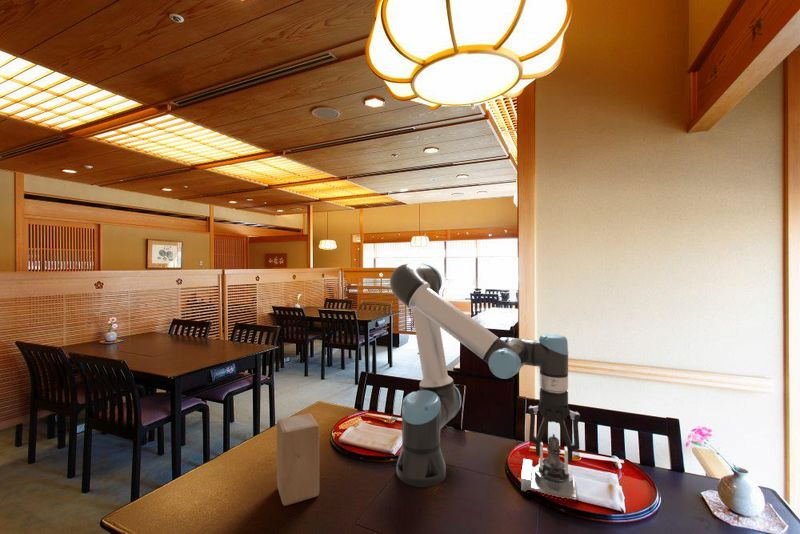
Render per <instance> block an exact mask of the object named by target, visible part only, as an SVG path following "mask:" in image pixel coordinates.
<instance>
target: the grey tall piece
mask: <svg viewBox="0 0 800 534" xmlns="http://www.w3.org/2000/svg"><path fill="white" fill-rule="evenodd" d="M547 441H548V443H547V445H548V447H547V448H546V450H547V457H545V458H543V464H544V467H545V469H546V471H544V476H545V477H546V478H548V479H550V480H555V481H561V480H563V479H564V476H563V475H562V474H561V473H562V472H563V469H564V467H565V462H563V461H562V460H561V459H560V454H561V449H560V440H559V438H557V437H556V435H555V434H554V433H553V434H552V436H549V437H548V439H547Z"/></svg>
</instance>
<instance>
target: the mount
mask: <svg viewBox="0 0 800 534" xmlns="http://www.w3.org/2000/svg"><path fill="white" fill-rule="evenodd" d="M522 461H523V462H522V469H521V477H520V487H521V488H520V489H521V490H520V491H522V492H526V491H527V490H535V491H538V492H541V493H544V494H548V495H552V496H556V497H561V498H567V499H569V498H570V497H571V498H576V499H577V494H576V493H577V492H576V485H575V484H576V483H575V477H574V476H575V475H574V474H573V472H571V471H570V470H569V469H568V474H565V467H564V469H563V472H562V473H561V474H562V475H563V476H564V479H563V480H561V481H555V480H550V479H548V478H546V477H545V476H544V471H546V469H545V467H544V464H543V469H540V463H538V464H537V465H535V466H533V460H532V459H527V458H523V460H522Z"/></svg>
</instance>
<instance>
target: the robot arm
mask: <svg viewBox="0 0 800 534" xmlns="http://www.w3.org/2000/svg"><path fill="white" fill-rule="evenodd" d="M442 280H443V279H442V275H441V273H440V271H439V270H438V269H437V268H435V266H433V265H431V264H428V263H427V264H426V263H412V264H411V263H405V264H401V265H399V266H398V267H396V268H395V269H394V270H393V272H392V273H391V276H390V279H389V286H390V289H391V291H392V293H393V295H394V296H395V297H396V298H397V299H398V300H399V302H401V303H402V304H403V305H405V306H406V307H408V308H409V309H410V310H412V317H413V323H414V329H415V330H414V331H415V336H416V342H417V349H418V355H419V361H420V368H421V375H422V379H421V381H420V382H419V390H417V391H411V392H410V393H408V394H407V395H406V396H405V397H404V398H403V400H402V407H401V429H402V430H401V434H402V435H401V441H402V443H401V444H402V445H401V449H400V453H399V456H398V459H397V462H396V476H397V478H398V479H399V480H400V481H401V482H402V483H404V484H406V485H408V486H411V487H414V488H415V487H416V488H429V487H434V486H436V485H439V484H440V483H442V482H444V480H445V479H446V477H447V466H446V465H447V464H446V462H445V459H444V456H443V453H442V450H441V430H442V428H443V427H444V426H446V424H448V423H449V422H450V421H451V420H452V419H454V418H455V417H456V416H457V414H458V412H459V411H460V409H461V406H462V394H461V393H460V390H459V389H458V387H456V385H455V384H454V383H455V382H454V379H453V378H452V377H451V376H450V375H448V374H449V373H448V368H447V362H446V355H445V349H444V344H443V337H442V331H441V329H442V330H444V331H445V332H446V333H448V334H449V335H451V336H452V337H453V338H454V339H456V340H457V342H459V343H461V345H464V347H466V348H467V349H469V350H470V351H471V352H472V353H474V354H475V355H477V357H479V358H480V359H481V360H483V361H484V362H486V363H487V364H488V367H489V370H490V372H491V373H492V375H494V376H495V377H496V378H499V379H504V380H507V379H510V378H512V377H513V376H515V375H517V374H519V372H520V371H521V369H522V367H523V366H531V367H538V368H539V402H538V404H537V405H534V406H533V405H529V406H528V412H529V413H528V414H529V415H530V421H529V433H528V434H529V435H528V439H529V442H530V443H534V445H535V456H537V457H539V464H540V469H543V459H544V443H543V438H544V434H545V433H546V432H545V431H546V429H547V425H549V424H548V423H549V422H550V423H556V424H559V427H560V429H561V432H562V435H563V439H564V441H565V444H566V446H564V464H565V474H568V470H569V463H570V462H571V463H572V461H573V451H579V450H580V435H579V422H580V419H581V414H580V412H578V411H573V410H571V409H570V407H569V392H568V390H569V348H568V347H569V345H568V344H569V343H568V339H567V338H566V336H565V335H562V334H557V333H543V334H540V336H539V338H538V339H537V340H536V339H525V338H519V337H516V338H515V337H512V336H511V337H510V336H509V337H503V336H502V337H498V336H497V335H496V334H494V332H492V331H490V330H489V329H487V328H486V327H485V326H484V325H482V324H480V323H479V322H478V321H477V320H475V319H473V318H472V317H470V315H468V314H467V313H465V312H464V311H462V310H461V309H459V308H458V307H457V306H455V305H454V304H452V303H451V302H450V301H448V300H447V299H446V298H444V297H443V296H441V295H440V290H441V289H442V285H443V281H442ZM538 411H539V413H540V414H541V416H542V420H541V424H540V425H539V429H538V433H537V434H536V436H535V422H536V415H537V414H538ZM568 416H570V420H572V428H573V430H572V431H573V442H572V441H571V438H570V435H569V433H568V429H567V426H566V422H565V420H566V418H567V417H568Z"/></svg>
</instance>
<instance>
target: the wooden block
mask: <svg viewBox="0 0 800 534" xmlns="http://www.w3.org/2000/svg"><path fill="white" fill-rule="evenodd" d="M276 486H277V490H278V494H279V497H280V501H281V504H282V506H290V505H293V504H297V503H299V502H303V501H306V500H309V499H313V498H316V497H318V496H319V494H320V425H319V423H318V422H317V421H316V419H315V418H314V416H313V414H312V413H304V414H298V415H292V416H288V417H287V416H286V417H283V418H279V419H277V421H276Z"/></svg>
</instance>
